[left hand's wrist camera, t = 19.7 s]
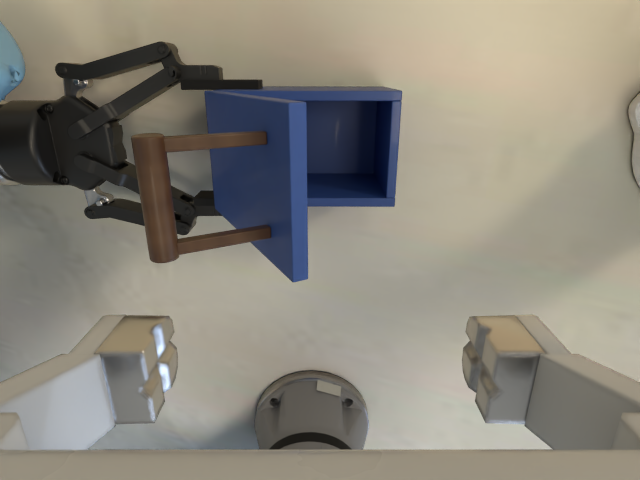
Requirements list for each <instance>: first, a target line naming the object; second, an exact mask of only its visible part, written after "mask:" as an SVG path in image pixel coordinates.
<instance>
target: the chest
mask: <svg viewBox="0 0 640 480" xmlns="http://www.w3.org/2000/svg"><path fill="white" fill-rule="evenodd" d="M213 91H223V92H231V93H239V94H247V95H255V96H263V97H271V98H278V99H286V100H294V101H302V102H306V122H307V206H370V207H394V206H395V190H396V175H397V160H398V145H399V130H400V115H401V100H402V91H400V90H395V89H391V88H386V87H263V88H262V89H219V90H213Z"/></svg>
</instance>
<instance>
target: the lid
mask: <svg viewBox="0 0 640 480" xmlns="http://www.w3.org/2000/svg"><path fill="white" fill-rule="evenodd" d="M205 103H206V114H207V125H208V134H197V135H180V136H164V135H163V134H158V133H145V134H136V135H133V136H132V137H131V140H132V147H133V153H134V160H135V166H136V172H137V179H138V185H139V192H140V198H141V205H142V211H143V218H144V224H145V230H146V237H147V243H148V250H149V256H150V260H151V261H152V262H155V263H167V262H171V261H174V260H176V259H177V258H179V255H180V254H186V253H191V252H197V251H202V250H208V249H213V248H219V247H224V246H230V245H236V244H241V243H247V242H251V243H252V244H253V245H254V246H255V247H256V248H257V249H258V250H259V251H260V252H261V253H262V254H263V255H265V256H266V257H267V258H268V259H269V260H270V261H271V262H272V263H273V264H274V265H275V266H276V267H277V268H278V269H279V270H280V271H281V272H282V273H283V274H285V275H286V276H287V277H288V278H289V279H290V280H291V281H292V282H297V281H301V280H306V279H308V228H307V122H306V102H302V101H294V100H286V99H278V98H271V97H263V96H255V95H247V94H239V93H231V92H223V91H205ZM203 149H210V158H211V169H212V180H213V191H214V202H215V209H216V210H217V211H218V212H219V213H220V214H221V215H222V216H223V217H225V218H226V219H227V220H228V221H229V222H230V223H231V224H232V225H233V226H234V227H235V228H236V230H230V231H224V232H218V233H212V234H205V235H199V236H193V237H187V238H181V239H178V238H177V230H176V222H175V215H174V207H173V199H172V191H171V183H170V175H169V167H168V160H167V152H177V151H190V150H203Z"/></svg>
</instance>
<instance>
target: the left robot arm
mask: <svg viewBox="0 0 640 480" xmlns="http://www.w3.org/2000/svg"><path fill="white" fill-rule="evenodd" d="M628 114H629V119H630V123H631V126H632V129H633V132H634V142H633V150H632V168H633V173H634V176H635V179H636V181H637V183H638V185H639V187H640V93H639V94H638V95H637V96H636V97H635V98H634V99H633V101H632V102H631V104H630V106H629V110H628ZM173 334H174V327H173V322H172V319H171V318H170V317H169V316H147V315H128V316H127V315H106V316H103V317H102V318H101V319H100V320H99V321H98V322H97V323H96V324H95V325H94V326H93V328H92V329H91V330H90V331H89V332H88V333H87V334H86V335H85V336H84V337H83V339H82V340H81V341H80V342H79V343H78V344H77V345H76V346H75V347H74V348H73V350H72V351H71V352H70V353H69V354H61V355H59V356H56V357H54V358H52V359H50V360H48V361H46V362H43V363H41V364H39V365H37V366H35V367H33V368H30V369H28V370H26V371H24V372H22V373H20V374H18V375H15V376H13V377H11V378H9V379H7V380H5V381H2V382H0V480H640V382H637V381H635V380H633V379H631V378H629V377H627V376H624V375H622V374H620V373H618V372H616V371H614V370H612V369H609V368H607V367H605V366H603V365H601V364H599V363H597V362H594V361H592V360H590V359H588V358H586V357H584V356H581V355H579V354H571V353H570V352H569V351H568V350H567V349H566V347H565V346H564V345H563V344H562V343H561V342H560V341H559V340H558V339H557V337H556V336H555V335H554V334H553V333H552V332H551V331H550V330H549V329H548V328H547V326H546V325H545V324H544V323H543V322H542V321H541V320H540V319H539V318H538V317H537V316H535V315H509V316H472V317H469V319H468V322H467V326H466V334H467V335H468V337H469V339H470V341H469V342H468V344H467V345H466V346H465V347H464V348H463V355H462V366H463V374H464V377H465V381H466V383H467V385H468V387H469V388H470V389H472V390H473V391H474V392H476V399H475V402H476V404H477V406H478V408H479V410H480V412H481V414H482V417H483V419H484V421H485V423H502V424H525V427H527V428H528V429H529V430H530V431H531V432H533V433H534V434H535V435H536V436H537V437H539V438H540V439H541V440H542V441H544V442H545V443H546V444H547V445H548V446H550V447H551V448H552V449H553V450H87V449H88V448H89V447H90V446H92V445H93V444H94V443H95V442H97V441H98V440H99V439H100V438H101V437H103V436H104V435H105V434H106V433H108V432H109V431H110V430H111V429H112V428H114V427H115V424H137V423H155V421H156V419H157V417H158V414H159V412H160V410H161V408H162V406H163V404H164V402H165V399H164V392H166V391H167V390H168V389H170V388H171V387H172V385H173V383H174V380H175V378H176V373H177V368H178V354H177V348H176V347H175V346H174V345H173V344H172V342H171V341H170V339H171V337H172V335H173Z"/></svg>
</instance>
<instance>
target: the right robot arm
mask: <svg viewBox="0 0 640 480" xmlns="http://www.w3.org/2000/svg"><path fill="white" fill-rule="evenodd" d="M159 62H162V64H163V66H164V69H163V70H161V71H160V72H158V73H156V74H155V75H153V76H152V77H150V78H148V79H147V80H145V81H144V82H142V83H140V84H139V85H137V86H136V87H134V88H132V89H131V90H129V91H128V92H126V93H124V94H123V95H121V96H120V97H118V98H117V99H115V100H113V101H112V102H110V103H108V104H106V105H104V106H102V107H100V108H99V107H98V106H96V105H95V104H93V103H92V102H90V101H89V100H87V99H86V98H84V97H82V92H83V90H85V89H88V88H91V86H92V84H93V80H92V79H104V78H108V77H112V76H115V75H118V74H122V73H125V72H129V71H132V70H135V69H139V68H142V67H146V66H149V65H152V64H156V63H159ZM55 71H56V73H57V75H58V76H59V77H61V78H63V82H64V91H65V96H63V97H61V98H60V99H58V100H56V101H10V102H7V101H2V100H4V99H5V96H6V95H7V94H8V93H9V92H11V91H12V90H13V89H14V88H15V87H16V86H18V85H19V84H20V83H21V81H22V80H23V78H24V75H25V62H24V59H23V56H22V53H21V51H20V49H19V47H18V45H17V43H16V41H15V40H14V38H13V37H12V35H11V34H10V32H9V31H8V30H7V29H6V27H5V26H4V25H3V24H2V23H1V21H0V185H19V184H24V185H72V186H75V187H77V188H79V189H82V190H84V192H85V195H86V199H87V202H88V205H89V206H88V207H87V208H86V209H85V211H84V212H85V215H86V216H87V217H88V218H90V219H98V218H109V217H110V218H114V219H118V220H123V221H127V222H131V223H135V224H139V225H143V226H145V224H144V218H143V211H142V205H141V203H138V202H134V201H130V200H125V199H113V195H111V194H109V193H104V192H102V191H101V190H100V189H99V186H100V185H101V184H102V183H104V182H105V181H106V180H107V181H109V182H111V183H113V184H115V185H118V186H124V187H126V188H128V189H130V190H132V191H134V192H137V193H139V194H140V192H139V185H138V179H137V172H136V166H135V165H133V164H131V163H129V162H127V161H125V159H127V155H126V150H125V148H124V145H123V143H122V138H123V131H122V125H119V124H118V121H119V120H121V119H123V118H124V117H126V116H128V115H129V114H130V113H131V112H133V111H134V110H136V109H137V108H139V107H141V106H142V105H144V104H146V103H147V102H149V101H150V100H152V99H154V98H155V97H157V96H159V95H160V94H162V93H163V92H165V91H167V90H168V89H170V88H172V87H173V86H175V85H176V84H178V83H180V82H181V89H182V90H219V89H262V88H263V87H262V80H223V73H222V68H221V67H218V66H214V65H185V64H184V63H183V62H182V61H181V59H180V57H179V55H178V49H177V47H176V46H175V45H174V44H171V43H166V42H157V43H153V44H150V45H147V46H143V47H140V48H137V49H133V50H130V51H127V52H123V53H120V54H116V55H113V56H110V57H106V58H103V59H100V60H96V61H93V62H90V63H86V64H78V63H58V64H57V65H56V67H55ZM171 191H172V199H173V207H174V211H175V212H174V215H175V222H176V230H177V234H180V235H187V234H188V233H189V232H190V231H191V229H192V228H193V227H194V226H195V224H196V219H197V216H222V215H221V214H220V213H219V212H218V211H217V210H216V209H215V202H214V191H200V192H199V193H198V194H197V195H196V196H195V197H193V196H191V195H189V194H187V193H185V192H183V191H181V190H179V189H177V188H175V187H173V186H171ZM368 427H369V422H368V415H367V408H366V404H365V402H364V399H363V397H362V396H361V394H360V393H359V392H358V390H357V389H356V388H355V387H354V386H353V385H351V384H350V383H349V382H347V381H346V380H344V379H342V378H340V377H338V376H335V375H333V374H329V373H325V372H318V371H305V372H298V373H294V374H290V375H287V376H285V377H283V378H281V379H279V380H277V381H276V382H274V383H273V384H272V385H270V386H269V387H268V388H267V389H266V391H265V392H264V393H263V395H262V396H261V398H260V400H259V403H258V406H257V410H256V416H255V432H256V436H257V440H258V444H259V449H260V450H363V447H364V444H365V440H366V437H367V433H368Z"/></svg>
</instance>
